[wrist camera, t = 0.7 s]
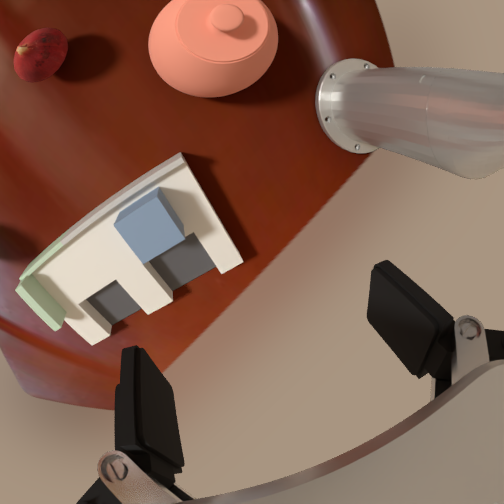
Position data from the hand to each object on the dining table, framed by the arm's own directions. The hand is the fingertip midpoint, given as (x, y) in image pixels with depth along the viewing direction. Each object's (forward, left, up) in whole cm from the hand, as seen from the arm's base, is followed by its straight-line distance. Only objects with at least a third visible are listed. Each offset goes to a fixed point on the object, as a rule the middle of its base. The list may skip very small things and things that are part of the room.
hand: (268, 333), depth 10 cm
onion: (+7, -22, -23) cm, 33 cm away
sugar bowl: (-8, -14, -23) cm, 28 cm away
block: (+6, 0, -21) cm, 22 cm away
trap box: (+13, +3, -23) cm, 27 cm away
